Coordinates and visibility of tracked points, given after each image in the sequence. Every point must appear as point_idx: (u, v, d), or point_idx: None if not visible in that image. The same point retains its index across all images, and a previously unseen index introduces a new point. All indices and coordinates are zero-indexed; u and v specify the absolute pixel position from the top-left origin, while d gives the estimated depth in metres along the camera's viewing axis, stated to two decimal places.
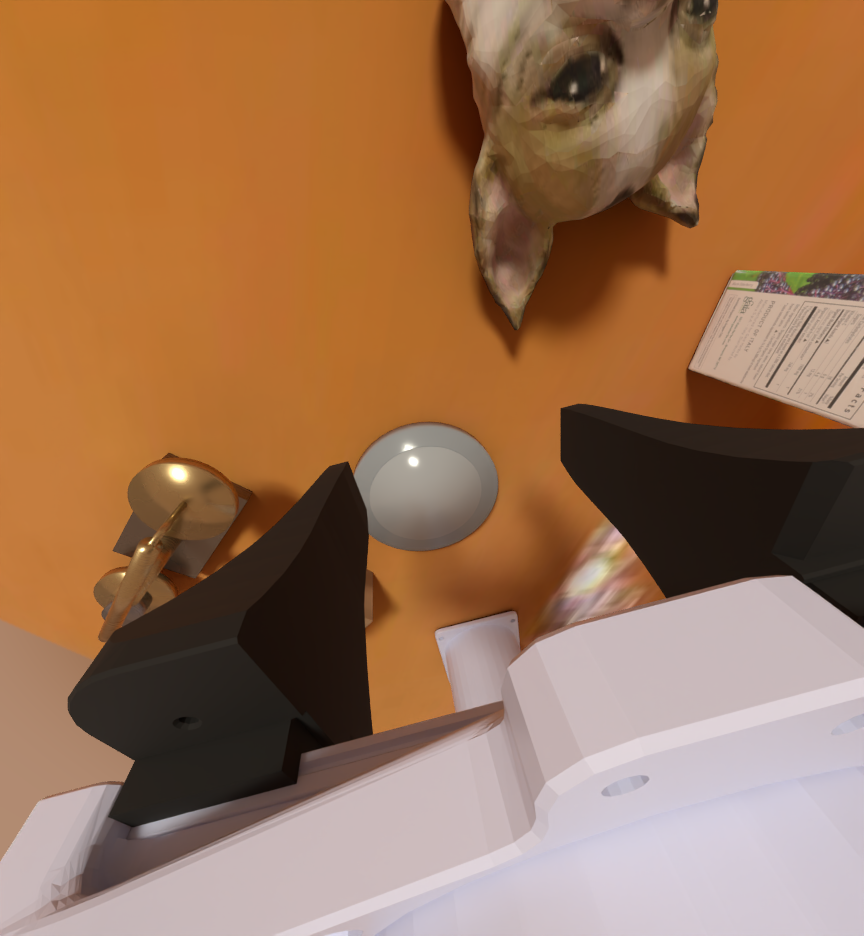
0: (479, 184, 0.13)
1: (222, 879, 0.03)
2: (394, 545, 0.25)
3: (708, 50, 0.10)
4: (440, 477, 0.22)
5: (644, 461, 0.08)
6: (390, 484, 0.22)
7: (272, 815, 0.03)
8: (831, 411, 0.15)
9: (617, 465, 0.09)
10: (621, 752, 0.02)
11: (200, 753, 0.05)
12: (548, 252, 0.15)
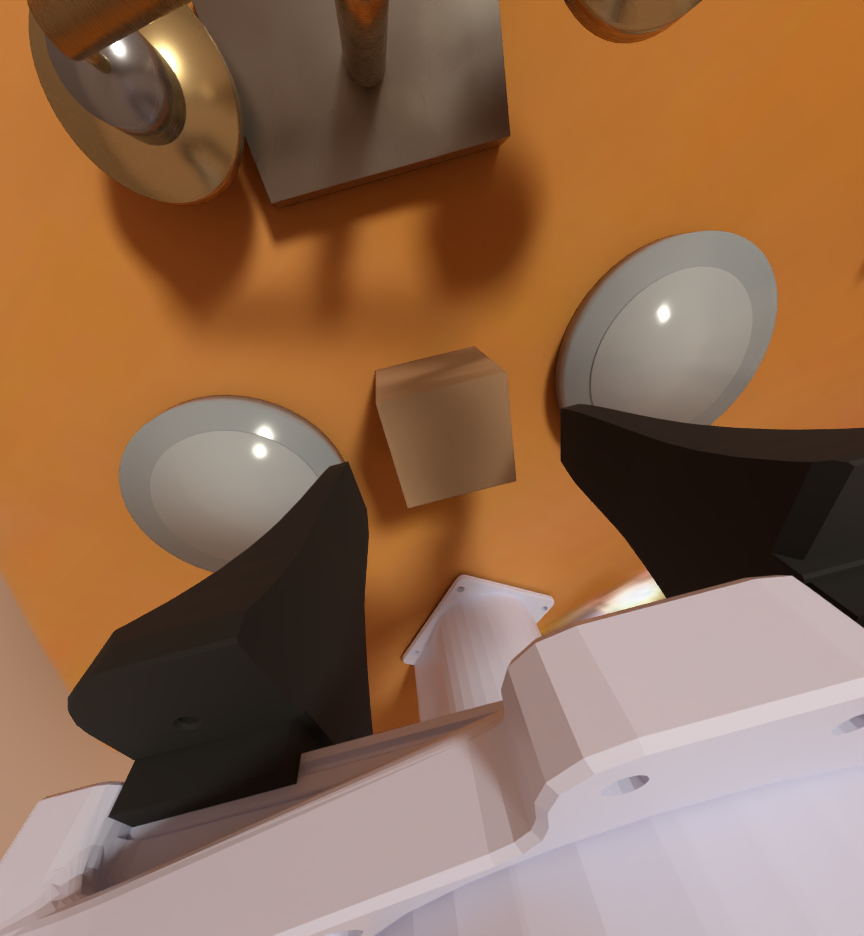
0: None
1: (222, 879, 0.03)
2: None
3: None
4: (705, 348, 0.16)
5: (644, 461, 0.08)
6: (663, 305, 0.14)
7: (272, 815, 0.03)
8: None
9: (617, 465, 0.09)
10: (621, 752, 0.02)
11: (200, 753, 0.05)
12: None
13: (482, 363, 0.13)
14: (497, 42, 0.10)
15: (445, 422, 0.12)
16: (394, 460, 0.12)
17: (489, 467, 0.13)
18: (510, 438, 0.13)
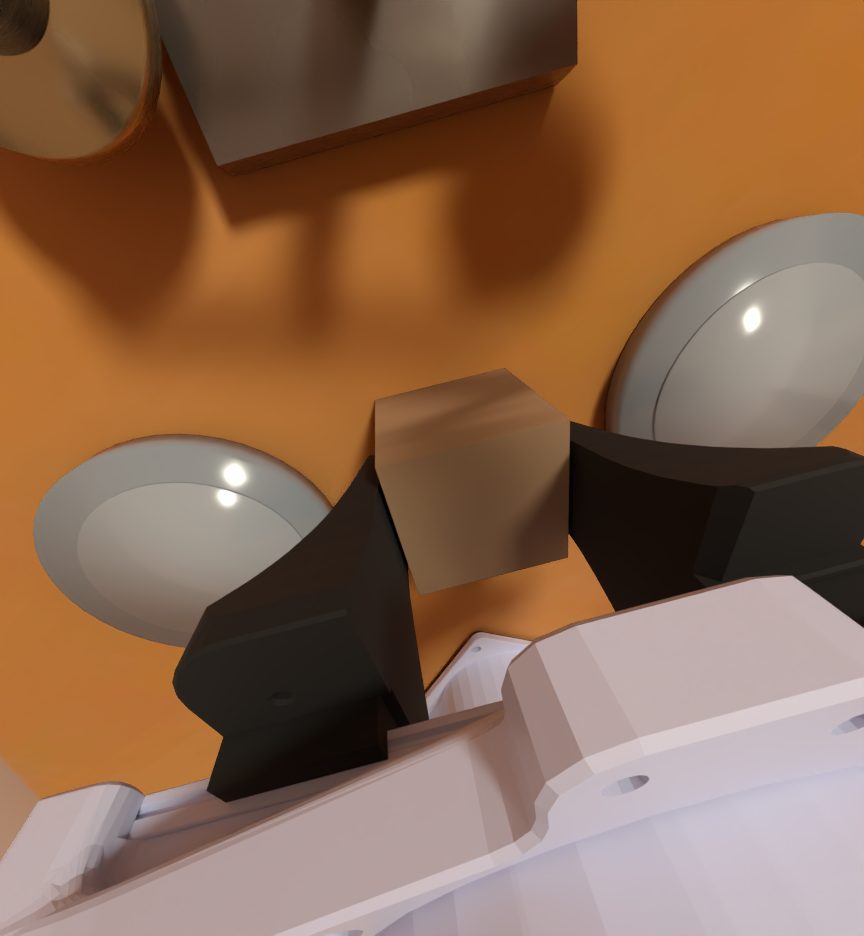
0: None
1: (222, 879, 0.03)
2: None
3: None
4: (804, 369, 0.12)
5: (590, 475, 0.08)
6: (760, 315, 0.11)
7: (272, 815, 0.03)
8: None
9: (569, 477, 0.09)
10: (621, 752, 0.02)
11: (290, 729, 0.05)
12: None
13: (526, 400, 0.09)
14: None
15: (476, 489, 0.08)
16: (401, 539, 0.09)
17: (534, 543, 0.09)
18: (566, 506, 0.09)
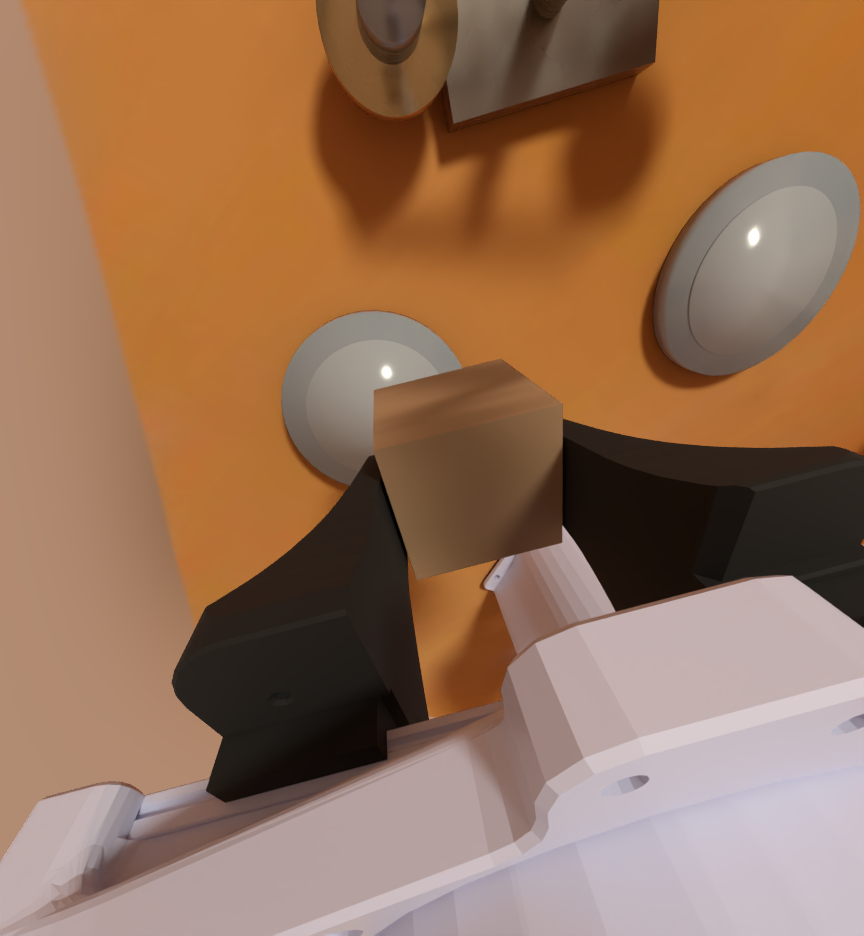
0: None
1: (222, 879, 0.03)
2: (668, 322, 0.18)
3: None
4: (791, 266, 0.18)
5: (590, 475, 0.08)
6: (761, 223, 0.16)
7: (272, 815, 0.03)
8: None
9: (570, 477, 0.09)
10: (621, 752, 0.01)
11: (289, 730, 0.05)
12: None
13: (521, 387, 0.09)
14: None
15: (472, 472, 0.08)
16: (399, 523, 0.09)
17: (529, 527, 0.10)
18: (559, 491, 0.09)
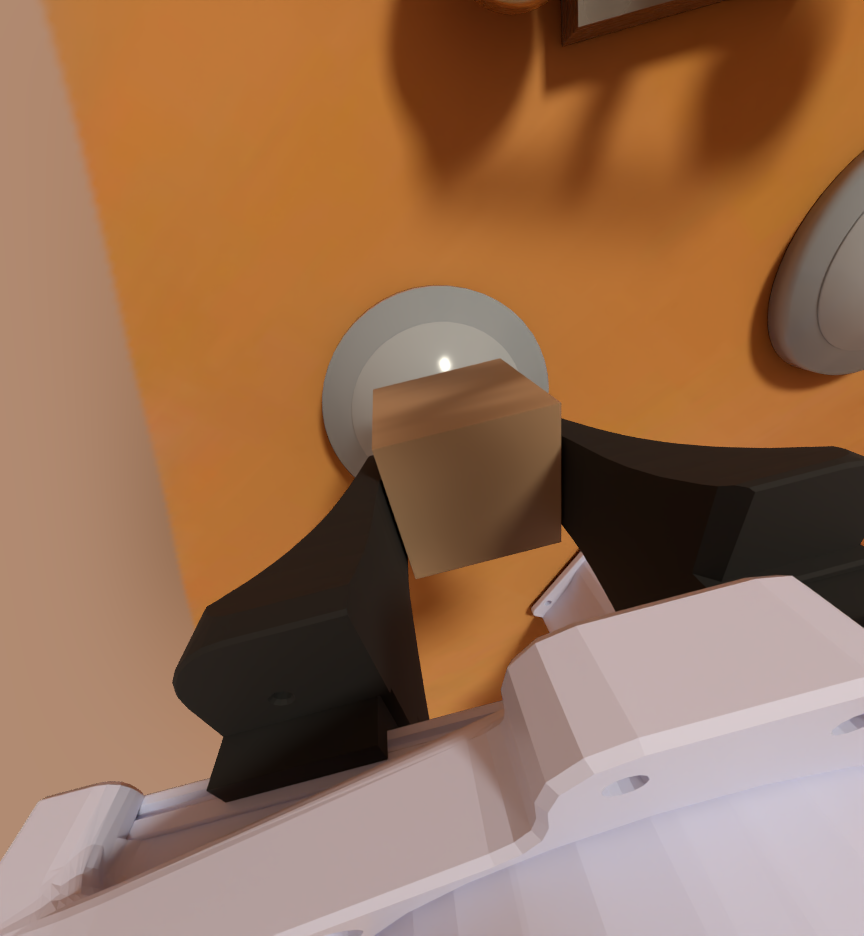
0: None
1: (222, 879, 0.03)
2: (794, 308, 0.15)
3: None
4: None
5: (590, 475, 0.08)
6: None
7: (272, 815, 0.03)
8: None
9: (570, 477, 0.09)
10: (621, 752, 0.02)
11: (290, 730, 0.05)
12: None
13: (519, 386, 0.09)
14: None
15: (470, 471, 0.08)
16: (398, 522, 0.09)
17: (528, 526, 0.10)
18: (558, 490, 0.09)
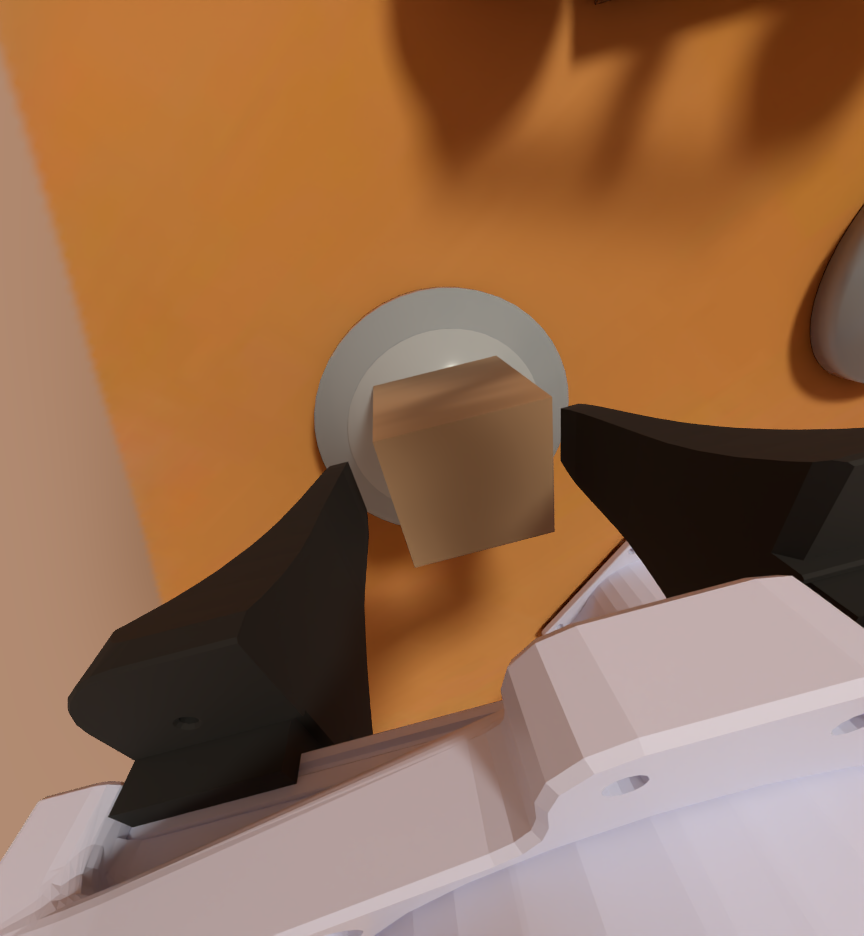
0: None
1: (222, 879, 0.03)
2: (844, 313, 0.13)
3: None
4: None
5: (644, 461, 0.08)
6: None
7: (272, 815, 0.03)
8: None
9: (617, 465, 0.09)
10: (621, 752, 0.02)
11: (200, 753, 0.05)
12: None
13: (514, 382, 0.10)
14: None
15: (467, 463, 0.09)
16: (398, 511, 0.09)
17: (522, 516, 0.10)
18: (551, 481, 0.10)
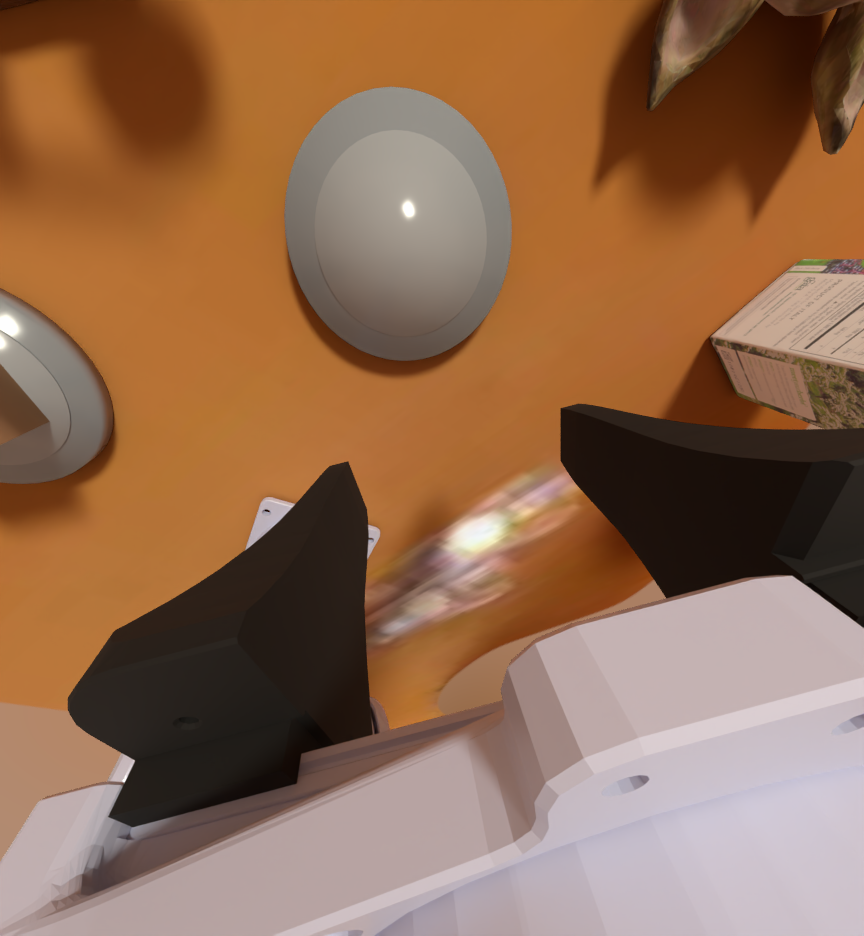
0: None
1: (222, 879, 0.03)
2: (308, 294, 0.16)
3: None
4: (440, 232, 0.15)
5: (644, 461, 0.08)
6: (373, 176, 0.14)
7: (272, 815, 0.03)
8: None
9: (617, 465, 0.09)
10: (622, 752, 0.02)
11: (200, 753, 0.05)
12: (750, 13, 0.12)
13: None
14: None
15: None
16: None
17: None
18: None
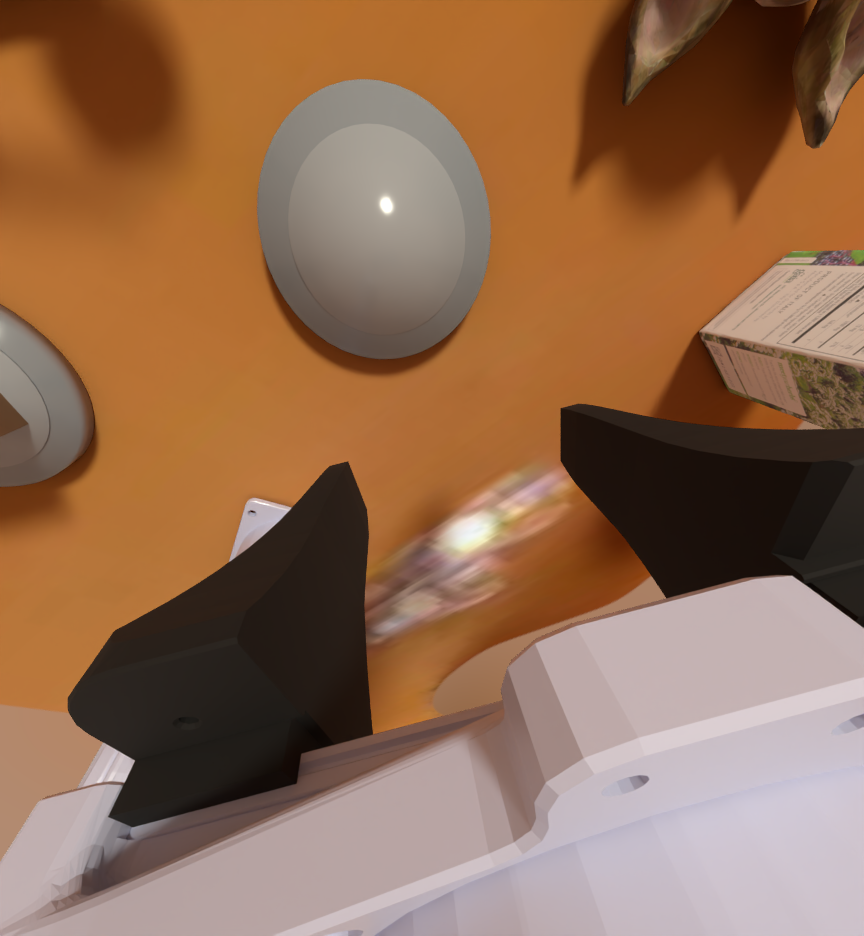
0: None
1: (222, 879, 0.03)
2: (284, 293, 0.15)
3: None
4: (417, 227, 0.15)
5: (644, 461, 0.08)
6: (346, 171, 0.14)
7: (272, 815, 0.03)
8: None
9: (618, 465, 0.09)
10: (622, 753, 0.01)
11: (200, 753, 0.05)
12: (725, 4, 0.12)
13: None
14: None
15: None
16: None
17: None
18: None
